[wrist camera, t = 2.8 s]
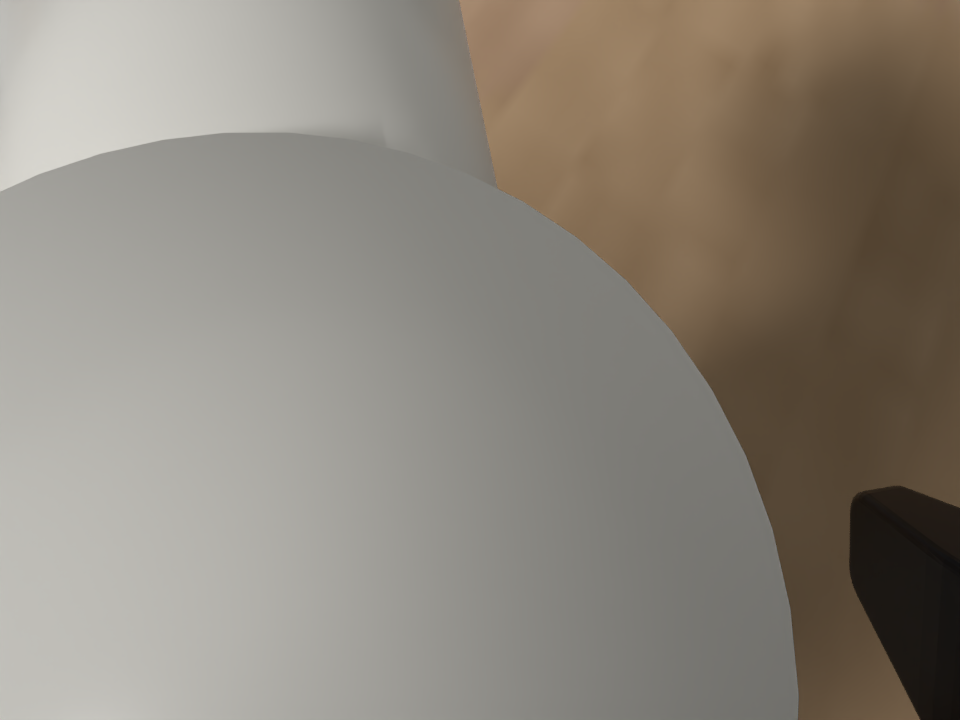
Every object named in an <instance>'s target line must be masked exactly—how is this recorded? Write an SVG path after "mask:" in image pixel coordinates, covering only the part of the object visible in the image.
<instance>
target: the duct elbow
mask: <svg viewBox="0 0 960 720" xmlns="http://www.w3.org/2000/svg"><path fill="white" fill-rule="evenodd" d="M798 701H799V693H798V683H797V672H796V662H795V652H794V641H793V631H792V620H791V610H790V605H789V600H788V596H787V592H786V587H785V583H784V578H783V574H782V569H781V565H780V560H779V556H778V552H777V547H776V543H775V538H774V534H773V529H772V526H771V524H770V521H769V518H768V515H767V513H766V510H765V507H764V504H763V502H762V499H761V496H760V493H759V491H758V488H757V485H756V482H755V479H754V477H753V474H752V471H751V468H750V466H749V463H748V460H747V457H746V455H745V453H744V451H743V449H742V447H741V445H740V443H739V441H738V439H737V437H736V435H735V434H734V432H733V430H732V428H731V426H730V424H729V422H728V420H727V418H726V416H725V414H724V412H723V410H722V408H721V406H720V404H719V402H718V400H717V399H716V397H715V395H714V393H713V391H712V389H711V388H710V386H709V385H708V383H707V382H706V380H705V379H704V377H703V376H702V374H701V373H700V372H699V370H698V369H697V367H696V366H695V364H694V363H693V361H692V360H691V358H690V357H689V356H688V354H687V353H686V351H685V350H684V348H683V347H682V345H681V344H680V342H679V341H678V340H677V338H676V337H675V335H674V334H673V332H672V331H671V330H670V329H669V328H668V326H667V325H666V324H665V323H664V322H663V321H662V320H661V319H660V318H659V316H658V315H657V314H656V313H655V312H654V311H653V310H652V309H651V307H650V306H649V305H648V304H647V303H646V302H645V301H644V300H643V299H642V297H641V296H640V295H639V294H638V293H637V292H636V291H635V290H634V288H633V287H632V286H631V285H630V284H629V283H628V282H627V281H626V280H625V279H624V278H623V277H622V276H621V275H619V274H618V273H617V272H616V271H615V270H614V269H613V268H611V267H610V266H609V265H608V264H607V263H606V262H604V261H603V260H602V259H601V258H600V257H599V256H598V255H596V254H595V253H594V252H593V251H592V250H591V249H589V248H588V247H587V246H586V245H585V244H584V243H583V242H581V241H580V240H579V239H578V238H577V237H575V236H574V235H572V234H571V233H569V232H568V231H566V230H565V229H563V228H562V227H560V226H559V225H557V224H556V223H554V222H553V221H551V220H550V219H548V218H547V217H545V216H544V215H542V214H541V213H539V212H538V211H536V210H535V209H533V208H532V207H530V206H529V205H527V204H526V203H524V202H523V201H521V200H519V199H517V198H515V197H513V196H511V195H509V194H507V193H505V192H503V191H501V190H499V189H498V188H497V183H496V179H495V174H494V169H493V164H492V159H491V154H490V149H489V144H488V139H487V135H486V130H485V125H484V120H483V115H482V110H481V105H480V100H479V95H478V91H477V86H476V81H475V76H474V71H473V66H472V61H471V56H470V52H469V47H468V42H467V37H466V32H465V27H464V22H463V17H462V12H461V8H460V3H459V0H0V720H798Z"/></svg>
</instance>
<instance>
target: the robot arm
mask: <svg viewBox="0 0 960 720" xmlns="http://www.w3.org/2000/svg"><path fill="white" fill-rule="evenodd" d="M849 566H850V575H851V579H852V583H853V586H854V589H855V592H856V594H857V596H858V598H859V600H860V602H861V604H862V606H863V608H864V610H865V612H866V614H867V616H868V618H869V620H870V622H871V624H872V625H873V627H874V629H875V631H876V633H877V635H878V637H879V639H880V641H881V643H882V645H883V647H884V649H885V651H886V653H887V655H888V657H889V659H890V661H891V663H892V665H893V667H894V669H895V671H896V673H897V675H898V677H899V679H900V681H901V683H902V685H903V687H904V689H905V691H906V693H907V695H908V697H909V698H910V700H911V702H912V704H913V706H914V708H915V710H916V712H917V714H918V716H919V718H920V720H960V508H958V507H956V506H953V505H950V504H948V503H945V502H942V501H940V500H937V499H934V498H932V497H929V496H926V495H924V494H921V493H919V492H916V491H913V490H911V489H908V488H905V487H902V486H890V487H885V488H879V489H874V490H868V491H862V492H859V493H858V494H857V495H856V496H855V497H854V498H853V500H852V503H851V508H850V558H849Z"/></svg>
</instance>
